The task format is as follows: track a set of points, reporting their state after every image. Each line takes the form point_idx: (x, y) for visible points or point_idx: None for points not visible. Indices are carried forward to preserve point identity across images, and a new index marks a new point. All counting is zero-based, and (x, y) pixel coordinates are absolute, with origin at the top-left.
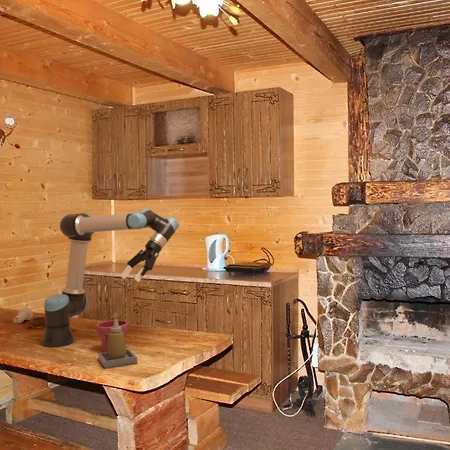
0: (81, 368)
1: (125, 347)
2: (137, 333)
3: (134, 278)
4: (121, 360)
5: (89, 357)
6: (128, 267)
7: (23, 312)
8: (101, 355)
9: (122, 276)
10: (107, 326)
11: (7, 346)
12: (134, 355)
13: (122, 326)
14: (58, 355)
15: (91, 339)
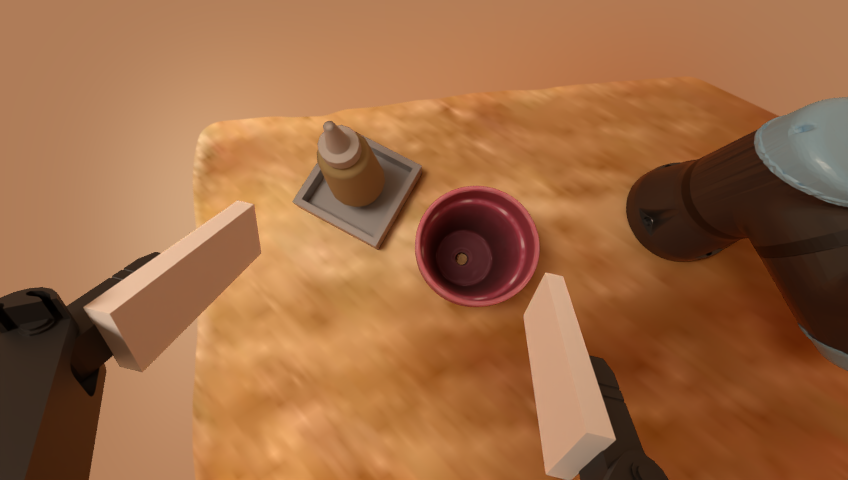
0: (401, 107)
1: (331, 190)
2: None
3: (245, 203)
4: (317, 165)
5: (462, 174)
6: (569, 405)
7: None
8: (395, 156)
9: (538, 293)
10: (525, 264)
11: (755, 112)
12: (310, 207)
13: (415, 245)
14: (551, 139)
15: (628, 300)
